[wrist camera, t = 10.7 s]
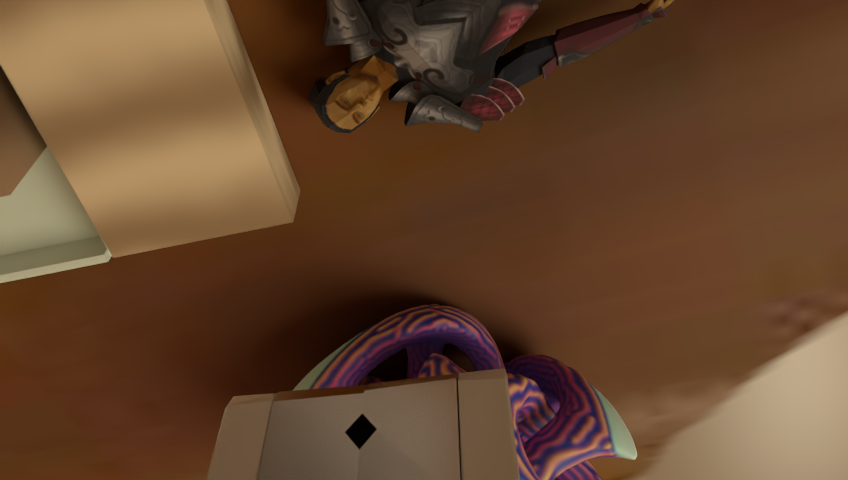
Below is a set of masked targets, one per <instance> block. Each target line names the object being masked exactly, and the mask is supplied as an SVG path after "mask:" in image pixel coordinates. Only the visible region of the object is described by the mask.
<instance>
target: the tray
mask: <svg viewBox="0 0 848 480" xmlns="http://www.w3.org/2000/svg"><path fill="white" fill-rule="evenodd" d="M0 66H1V67H2V65H1V64H0ZM2 69H3V67H2ZM3 71H4V69H3ZM4 73H5V74H6V72H5V71H4ZM6 76H7V74H6ZM7 78H8V79H9V77H8V76H7ZM9 81H10V79H9ZM10 83H11V81H10ZM11 85H12V86H13V84H12V83H11ZM13 88H14V86H13ZM14 90H15V92H16V93H17V91H16V89H15V88H14ZM17 95H18V93H17ZM18 97H19V98H20V96H19V95H18ZM20 100H21V98H20ZM21 102H22V104H23V105H24V103H23V101H22V100H21ZM24 107H25V105H24ZM25 109H26V110H27V108H26V107H25ZM27 112H28V110H27ZM28 114H29V112H28ZM29 116H30V117H31V115H30V114H29ZM31 119H32V117H31ZM32 121H33V122H34V120H33V119H32ZM34 124H35V122H34ZM35 126H36V124H35ZM36 128H37V129H38V127H37V126H36ZM38 131H39V129H38ZM39 133H40V134H41V132H40V131H39ZM41 136H42V134H41ZM42 138H43V136H42ZM43 140H44V141H45V139H44V138H43ZM45 143H46V141H45ZM46 145H47V147H46V148H45V150H44V151H43V152H42V154H41V155H40V156H39V158H38V159H37V160H36V162H35V163H34V164H33V166H32V167H31V168H30V169H29V171H28V172H27V173H26V175H25V176H24V177H23V179H22V180H21V181H20V183H19V184H18V185H17V187H16V188H15V189H14V191H13V192H12V193H11V195H8V196H3V197H0V283H3V282H8V281H13V280H19V279H24V278H29V277H34V276H39V275H44V274H49V273H54V272H59V271H64V270H69V269H74V268H79V267H84V266H89V265H94V264H99V263H104V262H109V260H110V258H111V256H112V255H111V253H110V251H109V249H108V248H107V246H106V244H105V243H104V241H103V239H102V237H101V236H100V234H99V232H98V231H97V229H96V227H95V225H94V224H93V222H92V220H91V218H90V217H89V215H88V213H87V212H86V210H85V208H84V206H83V205H82V203H81V201H80V200H79V198H78V196H77V194H76V193H75V191H74V189H73V188H72V186H71V184H70V182H69V181H68V179H67V177H66V175H65V174H64V172H63V170H62V169H61V167H60V165H59V163H58V162H57V160H56V158H55V157H54V155H53V153H52V151H51V150H50V148H49V146H48V144H47V143H46Z"/></svg>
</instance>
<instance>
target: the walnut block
mask: <svg viewBox="0 0 848 480" xmlns="http://www.w3.org/2000/svg"><path fill="white" fill-rule="evenodd" d="M46 147H47V145H46V143H45V141H44V140H43V138H42V136H41V134H40V133H39V131H38V129H37V128H36V126H35V124H34V122H33V121H32V119H31V117H30V116H29V114H28V112H27V110H26V109H25V107H24V105H23V104H22V102H21V100H20V98H19V97H18V95H17V93H16V92H15V90H14V88H13V86H12V85H11V83H10V81H9V79H8V78H7V76H6V74H5V73H4V71H3V69H2V67H1V66H0V197H3V196H8V195H11V193H12V192H13V191H14V189H15V188H16V187H17V185H18V184H19V183H20V181H21V180H22V179H23V177H24V176H25V175H26V173H27V172H28V171H29V169H30V168H31V167H32V166H33V164H34V163H35V162H36V160H37V159H38V158H39V156H40V155H41V154H42V152H43V151H44V150H45V148H46Z"/></svg>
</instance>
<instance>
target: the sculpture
mask: <svg viewBox="0 0 848 480" xmlns="http://www.w3.org/2000/svg"><path fill="white" fill-rule="evenodd" d="M447 343H450V344H452V345H454V346H456V347H458V348H459V349H460V350H461V351H462V352H463V353H464V354H465V355H466V356H467V357H468V358H469V360H470V361H471V363H472V364H473V366H474V368H475V370H476V371H483V370H492V369H501V368H504V369H505V370H506V373H507V378H508V386H509V394H510V402H511V410H512V419H513V427H514V435H515V443H516V451H517V459H518V467H519V475H520V480H603V478H602V477H601V476H600V475H599V473H598V472H597V471H596V470H595V468H594V467H593V466H592V465H591V464H590V462H589V461H588V460H589V459H593V458H599V457H613V458H618V457H623V458H627V459H636V457H637V451H636V447H635V444H634V441H633V439H632V437H631V435H630V432H629V431H628V429H627V427H626V425H625V423H624V422H623V420H622V419H621V417H620V415H619V414H618V413H617V411H616V410H615V409H614V407H613V406H612V405H611V403H610V402H609V401H608V400H607V399H606V398H605V397H604V396H603V395H602V394H601V393H600V392H599V391H598V390H597V389H596V388H594V387H593V386H592V385H591V384H590V383H589V382H588V381H586V379H585V378H584V377H583V376H582V375H581V374H580V373H578V372H577V371H576V370H574V369H572V368H570V367H568V366H566V365H565V364H564V363H563V362H561V361H559V360H557V359H554V358H552V357H549V356H546V355H534V354H528V355H522V356H519V357H517V358H514V359H513V360H511V361H509V362H506V363H505V364H503V361H502V358H501V355H500V352H499V350H498V347H497V345H496V343H495V342H494V340H493V338H492V337H491V336H490V334H489V332H488V331H487V329H486V328H485V327H484V326H483V324H481V323H480V322H479V321H478V320H477V319H476V318H475V317H473V316H472V315H470V314H469V313H467V312H465V311H463V310H460V309H458V308H455V307H451V306H442V305H438V304H431V305H423V306H418V307H414V308H410V309H407V310H404V311H402V312H399V313H396V314H394V315H392V316H390V317H388V318H386V319H384V320H382V321H380V322H378V323H376V324H374V325H372V326H371V327H369V328H367V329H366V330H364V331H362V332H361V333H359V334H358V335H356V336H355V337H354V338H352V339H351V340H349V341H348V342H346V343H345V344H343V345H342V346H341V347H339V348H338V349H337V350H335V351H334V352H333V353H331V354H330V355H329V356H328V357H326V358H325V359H324V360H323V361H321V362H320V363H319V364H318V365H317V366H316V367H314V368H313V369H312V370H311V371H310V372H309V373H308V374H307V375H306V376H305V377H304V378H303V379H302V380H301V381H300V382H299V383H298V385H297V386H296V387H295V388H294V389H293V391H295V390H307V389H320V388H332V387H345V386H357V385H368V384H370V383H379V382H385V381H382V380H381V379H379V378H377V377H375V376H368V375H367V374H368V373H369V372H370V371H371V370H372V369H374V368H375V367H376V366H377V365H378V364H380V363H381V362H382V361H384V360H385V359H387V358H388V357H390V356H391V355H393V354H395V353H397V352H398V351H400V350H402V349H404V348H406V349H407V354H408V373H407V379H414V378H422V377H431V376H440V375H448V374H457V373H458V376H459V373H466V371H464V370H463V369H461V368H460V367H458V366H457V365H456V364H455V363H453V362H452V361H451V360H450V359H448V358H447V357H446V356H444V355H442V352H443V348H444V346H445V344H447ZM558 409H559V410H558ZM557 410H558V412H557V413H556V411H557Z"/></svg>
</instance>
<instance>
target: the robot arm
mask: <svg viewBox="0 0 848 480" xmlns="http://www.w3.org/2000/svg"><path fill="white" fill-rule="evenodd" d="M206 480H520V475H519V467H518V459H517V451H516V443H515V435H514V427H513V419H512V410H511V402H510V394H509V386H508V378H507V373H506V370H505V369H504V368H501V369H492V370H483V371H475V372H466V373H459V376H458V373H457V374H448V375H440V376H431V377H422V378H414V379H405V380H396V381H388V382H379V383H370V384H368V385H357V386H345V387H332V388H320V389H307V390H295V391H282V392H278V393H269V394H256V395H243V396H233V398H232V399H231V401H230V402H229V404H228V405H227V406H226V408H225V410H224V414H223V418H222V422H221V425H220V429H219V433H218V437H217V441H216V444H215V448H214V452H213V456H212V459H211V463H210V467H209V471H208V475H207V478H206Z"/></svg>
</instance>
